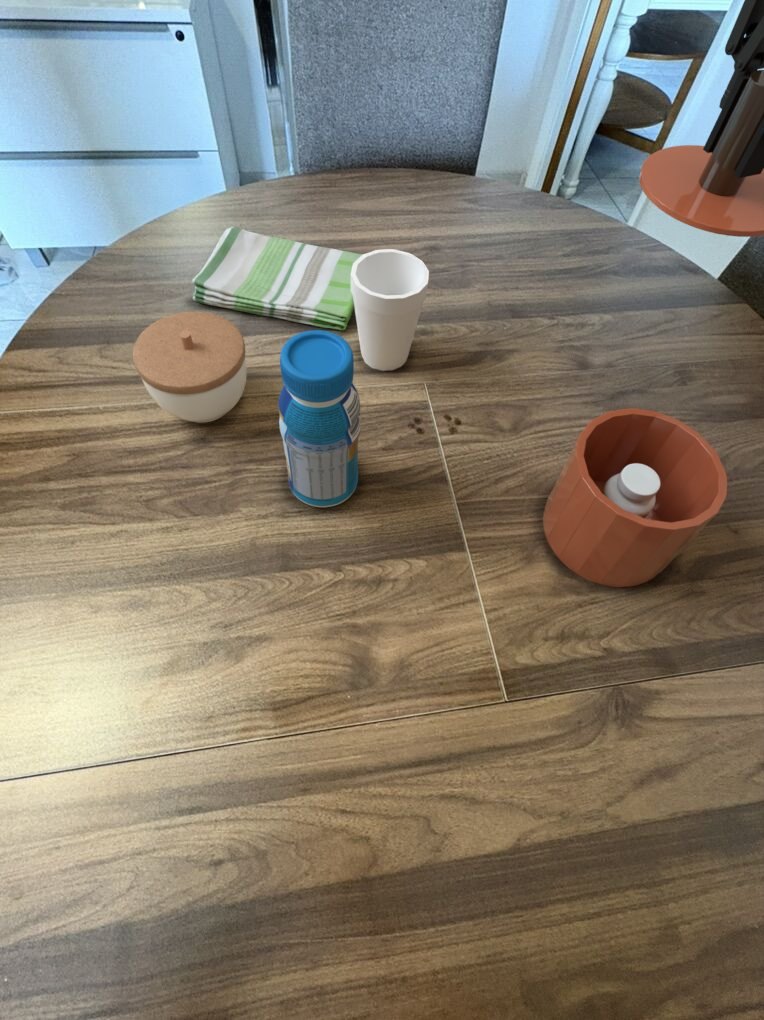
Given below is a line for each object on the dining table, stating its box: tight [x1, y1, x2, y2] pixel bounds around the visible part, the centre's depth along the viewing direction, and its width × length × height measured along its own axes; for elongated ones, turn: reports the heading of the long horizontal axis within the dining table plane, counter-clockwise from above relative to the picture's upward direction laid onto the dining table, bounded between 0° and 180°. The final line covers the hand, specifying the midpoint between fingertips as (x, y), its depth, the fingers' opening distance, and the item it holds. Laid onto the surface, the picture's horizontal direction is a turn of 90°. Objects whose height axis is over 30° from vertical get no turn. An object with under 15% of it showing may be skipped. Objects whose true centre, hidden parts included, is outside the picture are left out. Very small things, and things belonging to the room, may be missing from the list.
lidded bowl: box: [132, 311, 248, 424], centre depth 74 cm, size 13×13×11 cm
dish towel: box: [191, 226, 363, 331], centre depth 90 cm, size 17×23×4 cm
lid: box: [638, 69, 764, 238], centre depth 59 cm, size 16×16×11 cm
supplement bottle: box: [601, 463, 660, 518], centre depth 66 cm, size 5×5×10 cm
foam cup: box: [351, 248, 430, 372], centre depth 79 cm, size 10×9×13 cm
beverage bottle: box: [277, 329, 362, 508], centre depth 64 cm, size 8×8×20 cm
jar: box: [542, 407, 728, 588], centre depth 65 cm, size 15×15×12 cm
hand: (731, 160), depth 60 cm, fingers closed on lid, 4 cm apart
